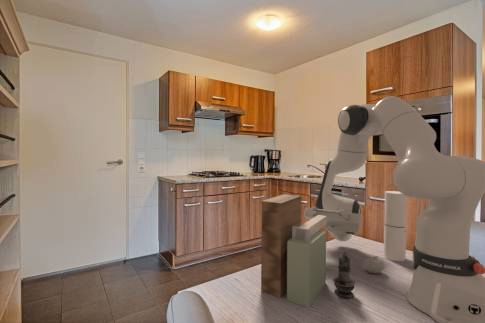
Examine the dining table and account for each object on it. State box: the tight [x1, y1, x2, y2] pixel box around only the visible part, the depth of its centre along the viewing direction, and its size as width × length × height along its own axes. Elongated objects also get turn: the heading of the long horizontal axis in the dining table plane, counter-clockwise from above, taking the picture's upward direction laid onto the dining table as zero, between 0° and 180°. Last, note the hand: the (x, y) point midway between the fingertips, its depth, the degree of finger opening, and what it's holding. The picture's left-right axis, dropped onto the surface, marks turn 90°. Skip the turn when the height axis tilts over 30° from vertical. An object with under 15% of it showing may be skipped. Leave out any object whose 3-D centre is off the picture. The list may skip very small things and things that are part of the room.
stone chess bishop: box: [332, 251, 356, 300], centre depth 73 cm, size 6×6×12 cm
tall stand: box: [260, 194, 302, 298], centre depth 79 cm, size 6×15×26 cm, turn 146°
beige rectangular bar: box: [292, 215, 327, 241], centre depth 79 cm, size 5×20×3 cm, turn 146°
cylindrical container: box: [383, 190, 408, 262], centre depth 99 cm, size 7×7×25 cm
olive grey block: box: [286, 229, 327, 308], centre depth 74 cm, size 6×15×16 cm, turn 146°
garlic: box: [363, 255, 385, 274], centre depth 87 cm, size 6×5×5 cm
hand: (327, 210), depth 92 cm, fingers open, 8 cm apart
